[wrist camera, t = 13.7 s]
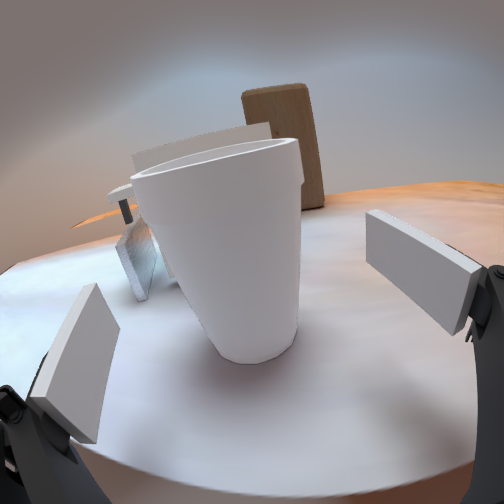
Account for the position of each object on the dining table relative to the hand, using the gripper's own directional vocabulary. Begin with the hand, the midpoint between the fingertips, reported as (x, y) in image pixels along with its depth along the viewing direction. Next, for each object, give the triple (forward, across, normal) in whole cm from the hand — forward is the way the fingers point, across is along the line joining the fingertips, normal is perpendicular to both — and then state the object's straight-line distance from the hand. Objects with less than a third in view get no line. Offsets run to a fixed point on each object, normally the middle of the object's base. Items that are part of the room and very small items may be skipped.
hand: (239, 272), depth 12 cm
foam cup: (+5, 0, -8) cm, 10 cm away
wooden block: (+33, +13, -8) cm, 36 cm away
